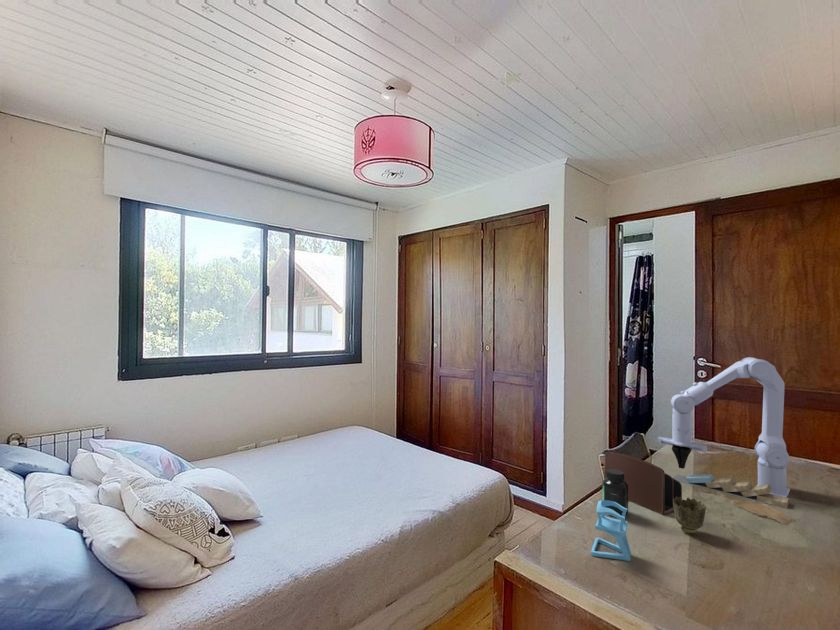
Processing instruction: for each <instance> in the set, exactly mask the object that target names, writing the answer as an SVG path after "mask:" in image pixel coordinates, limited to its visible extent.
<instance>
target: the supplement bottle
mask: <svg viewBox="0 0 840 630" xmlns="http://www.w3.org/2000/svg"><path fill="white" fill-rule="evenodd" d="M606 477H607V478H606V479H603V481H602V500H609V501H614V502H616V503H618V504H619V505H621V506H622V507H624V508H627V511H626V514H625V518H626V517H627V516H628V515H629V501H628V485H627V483H626V482H625V481H624V479H625V478H624V472H623V471H621V470H617V469H607V470H606ZM605 507H606V508H610V509H612V510H614V511H615V512H617V513H618V514H619V515H621V516H622V513H623V511H621V510H620V509H619V508H617V507H615V506H605ZM609 516H611V517H612V518H613V517H614V516H612V515H609ZM614 518H615V517H614Z"/></svg>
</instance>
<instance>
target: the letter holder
mask: <svg viewBox="0 0 840 630" xmlns="http://www.w3.org/2000/svg"><path fill="white" fill-rule="evenodd" d="M607 469H617V470H621V471H623V472H624V478H625V479H624V481H625V482H626V483H627V485H628V502H631V503H633V504H635V505H638V506H640V507H642V508H645V509H647V510H650V511H652V512H655V513H656V514H657V513H658V514H659V515H662V516H665V515H668V514H670V513H673V512H674V506H673V498H674V499H675V497H676V496H677V497H678V498H679V497H681V499H682V500H683V489H682V488H683V486H682V482H679V481H677V480H675V479H674V478H673V477H672V476H671V475H669V474H668V473H666V472H665V470H664V469H663V468H661V467H660V466H658V465H655V464H653V463H651V462H648V461H646V460H644V459H640V458H638V457H635V456H631V455H628V454H624V453H619V452H614V451H606V452H605V453H604V471H603V472H604V473H603V474H604V475H603V476H604V477H603V478H604V479H606V478H607V477H606V470H607ZM604 479H603V480H604Z"/></svg>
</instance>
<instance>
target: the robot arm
mask: <svg viewBox="0 0 840 630" xmlns="http://www.w3.org/2000/svg"><path fill="white" fill-rule="evenodd" d="M749 378H752V379H754V380H755V381H756V382H758V383H759V384H760V385H762V387H763V395H762V397H763V398H762V415H761V416H762V418H761V421H762V423H761V433H760V434H759V435H758V441H757V442H756V444H755V445H754V452H755V453H756V455H757V456H758V459H757V485H756V486H759V485H766V484H769V485H770V487H771V488H772V490H771V492H770V494H773V495H778V496H782V497H786V498H788V496H789V493H790V491H791V489H790V488H789V487H787V486H788V485H787V465H788V464H789V463H790V460H791V457H790V454H789V453H788V451H787V445H786V441H785V440H784V436H783V432H784V431H783V430H784V412H785V409H784V407H785V388H786V387H785V385H786V384H785V381H784V380H783V379H782V377H781V375H780V374H779V372H778V370H777V369H776V366H775V365H773V364H772V363H770V362H769V361H768V360H765V359H759V358H756V357H753V356H752V357H751V356H748V357H744V358H742V359H741V360H738V361H735V363H732V364H731V365H730V366H729V367H727V368H725V369H724V370H723V371H721V372H720V373H718V374H717V375H715V376H713V378H710V379H709V380H708V381H706V382H705V381H699V382H696V381H695V382H693V383H692V386H690V387H689V388H687V389H686V390H681V391H680V392H679V393H680V394H678V393H677V394H675V395H673V396H672V397H671V399H670V402H669V403H670V406H671V407H672V415H671V423H672V424H671V428H672V430H671V431H672V432H671V436H672V437H664V436H659V437H658V438H657V443H658V444H665V445H669V446H671V451H672V452H673V455H674V457H675V459H676V462H677V466H678V468H679V469H682V470H685V468H686V465H687V460H688V457H689V456H690V454H691V452H692V451H693V450H695V451H699V452H702V453H707V452H708V445H704V444H700V443H697V442H694V441H692V411H693V410H694V407H695V406H698V405H699V404H701V403H703V402H704V401H707V400H708V399H709V398H710V397H712V396H714V395H713V394H714V391H715V390H717V389H719V388H721V387H722V386H724V385H727V384H728V383H730V382H732V381H733V380H735V379H749Z"/></svg>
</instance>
